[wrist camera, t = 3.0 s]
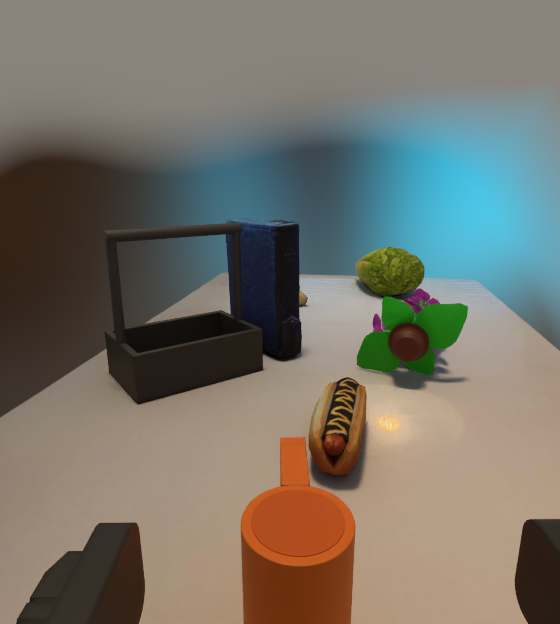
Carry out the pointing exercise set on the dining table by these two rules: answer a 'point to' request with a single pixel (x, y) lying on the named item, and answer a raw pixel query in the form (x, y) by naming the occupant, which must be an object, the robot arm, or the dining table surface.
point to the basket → (179, 331)
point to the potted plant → (411, 333)
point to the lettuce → (390, 271)
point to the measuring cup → (297, 549)
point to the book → (269, 282)
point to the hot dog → (338, 426)
